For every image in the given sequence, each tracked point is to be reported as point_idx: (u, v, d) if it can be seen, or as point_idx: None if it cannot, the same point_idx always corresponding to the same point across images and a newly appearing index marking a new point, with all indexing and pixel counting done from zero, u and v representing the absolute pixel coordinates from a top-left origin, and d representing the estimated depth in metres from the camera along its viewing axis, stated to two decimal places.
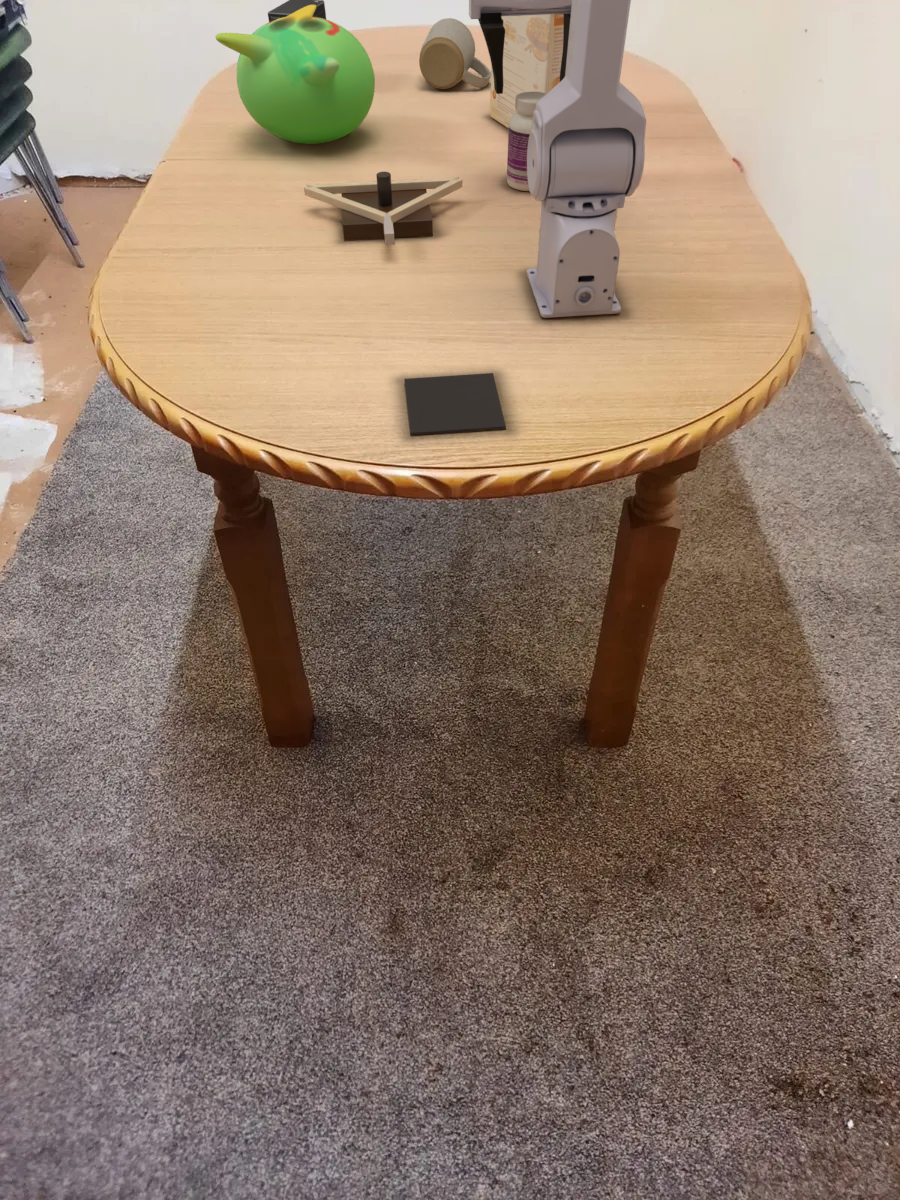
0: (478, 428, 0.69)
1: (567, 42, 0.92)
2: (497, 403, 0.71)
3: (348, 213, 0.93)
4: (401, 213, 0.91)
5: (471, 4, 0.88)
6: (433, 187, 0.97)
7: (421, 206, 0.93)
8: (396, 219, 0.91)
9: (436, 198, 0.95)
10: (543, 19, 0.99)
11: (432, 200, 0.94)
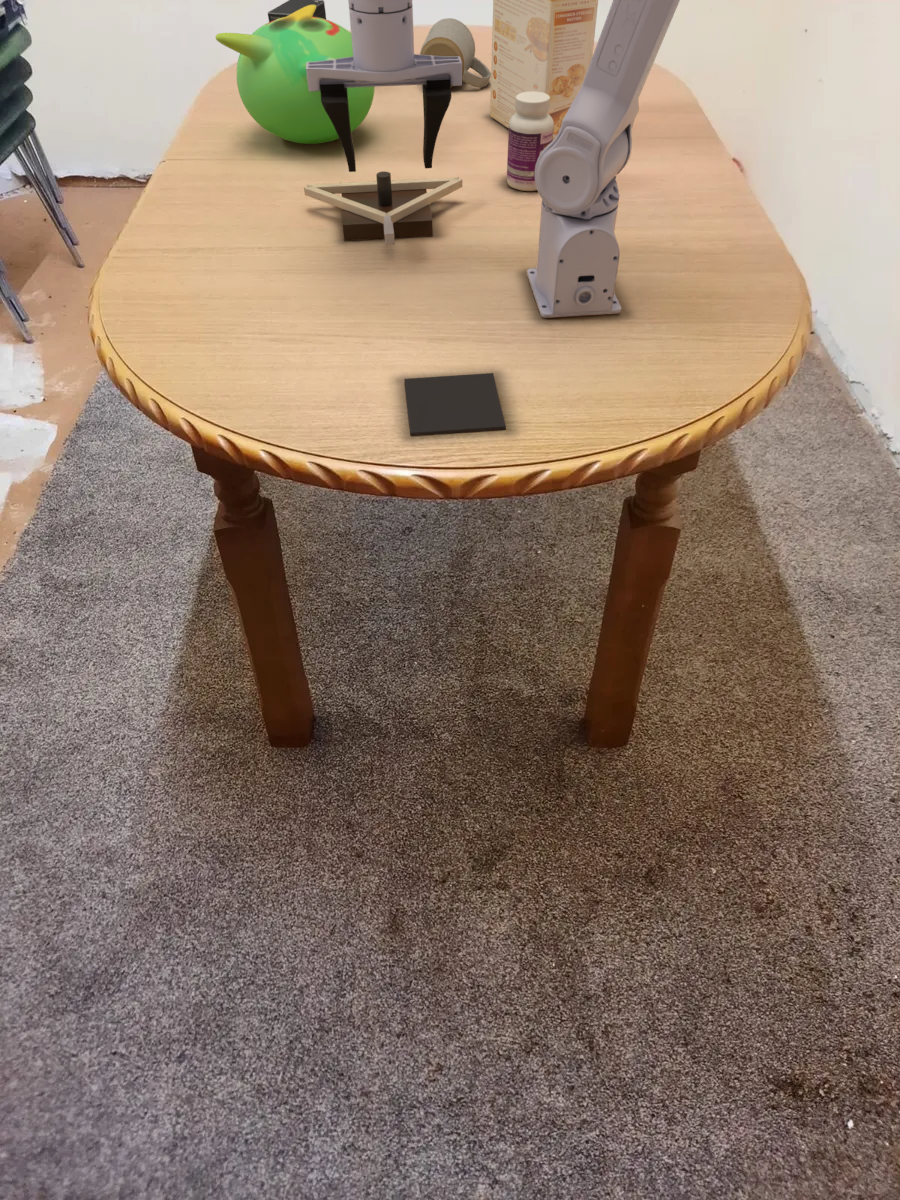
0: (478, 428, 0.69)
1: (425, 116, 0.80)
2: (497, 403, 0.71)
3: (348, 213, 0.93)
4: (401, 213, 0.91)
5: (307, 75, 0.76)
6: (433, 187, 0.97)
7: (421, 206, 0.93)
8: (396, 219, 0.91)
9: (436, 198, 0.95)
10: (543, 19, 0.99)
11: (432, 200, 0.94)
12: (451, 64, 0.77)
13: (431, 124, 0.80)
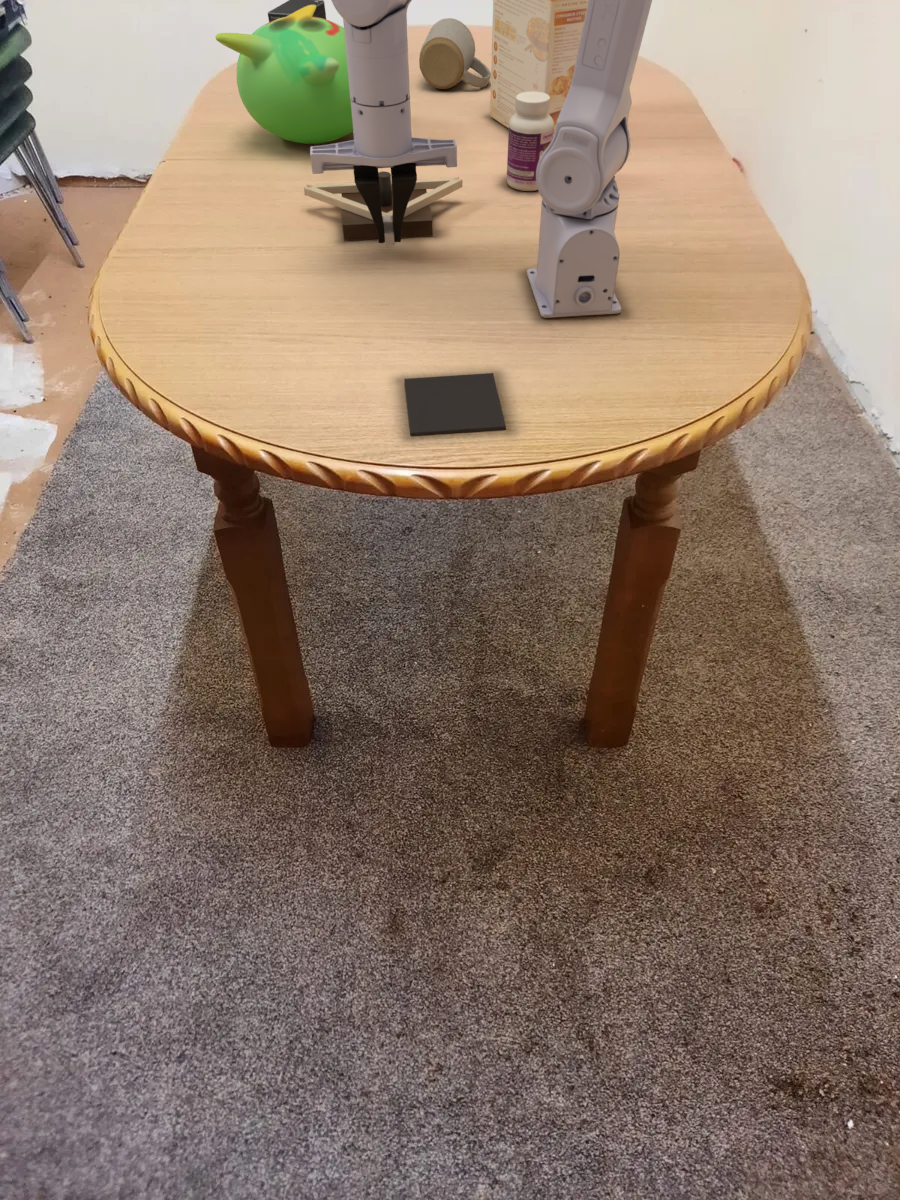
0: (478, 428, 0.69)
1: None
2: (497, 403, 0.71)
3: (348, 213, 0.93)
4: None
5: (311, 159, 0.81)
6: (433, 187, 0.97)
7: (421, 206, 0.93)
8: None
9: (436, 198, 0.95)
10: (543, 19, 0.99)
11: (432, 200, 0.94)
12: (446, 148, 0.81)
13: (398, 203, 0.84)
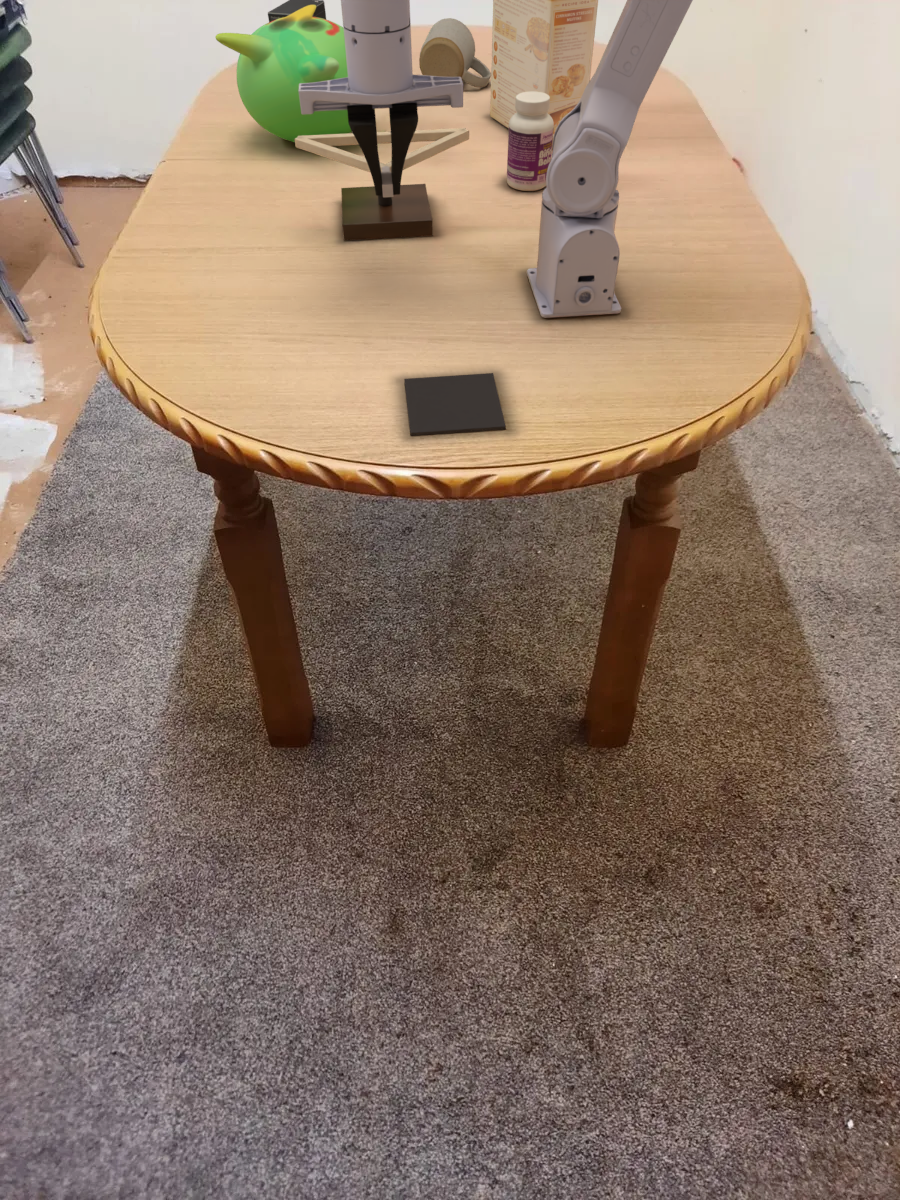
0: (478, 428, 0.69)
1: None
2: (497, 403, 0.71)
3: (348, 213, 0.93)
4: None
5: (300, 97, 0.72)
6: (437, 139, 0.88)
7: (423, 158, 0.85)
8: None
9: (440, 150, 0.86)
10: (543, 19, 0.99)
11: (435, 152, 0.86)
12: (451, 85, 0.73)
13: (398, 149, 0.75)
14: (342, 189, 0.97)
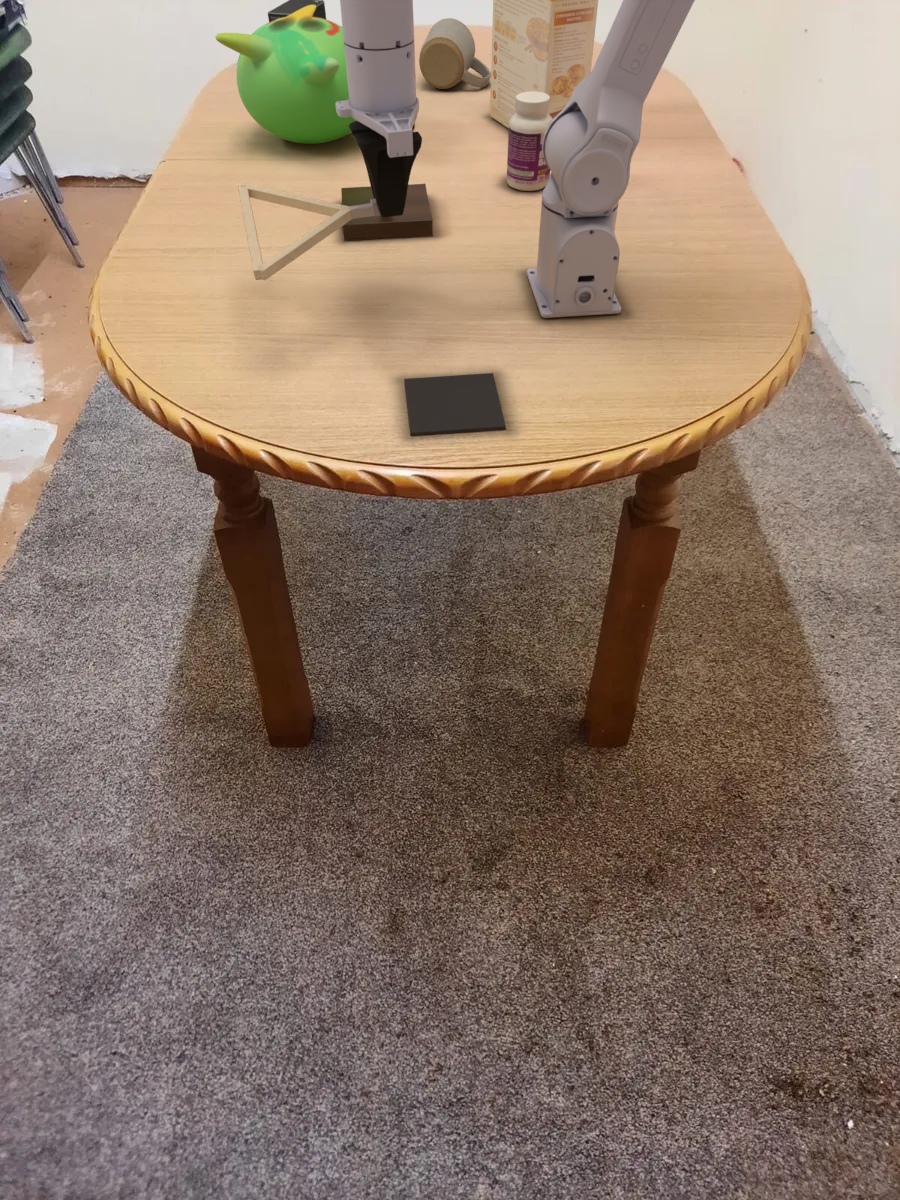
0: (478, 428, 0.69)
1: None
2: (497, 403, 0.71)
3: None
4: None
5: (411, 137, 0.66)
6: None
7: None
8: None
9: None
10: (543, 19, 0.99)
11: None
12: None
13: None
14: (342, 189, 0.97)
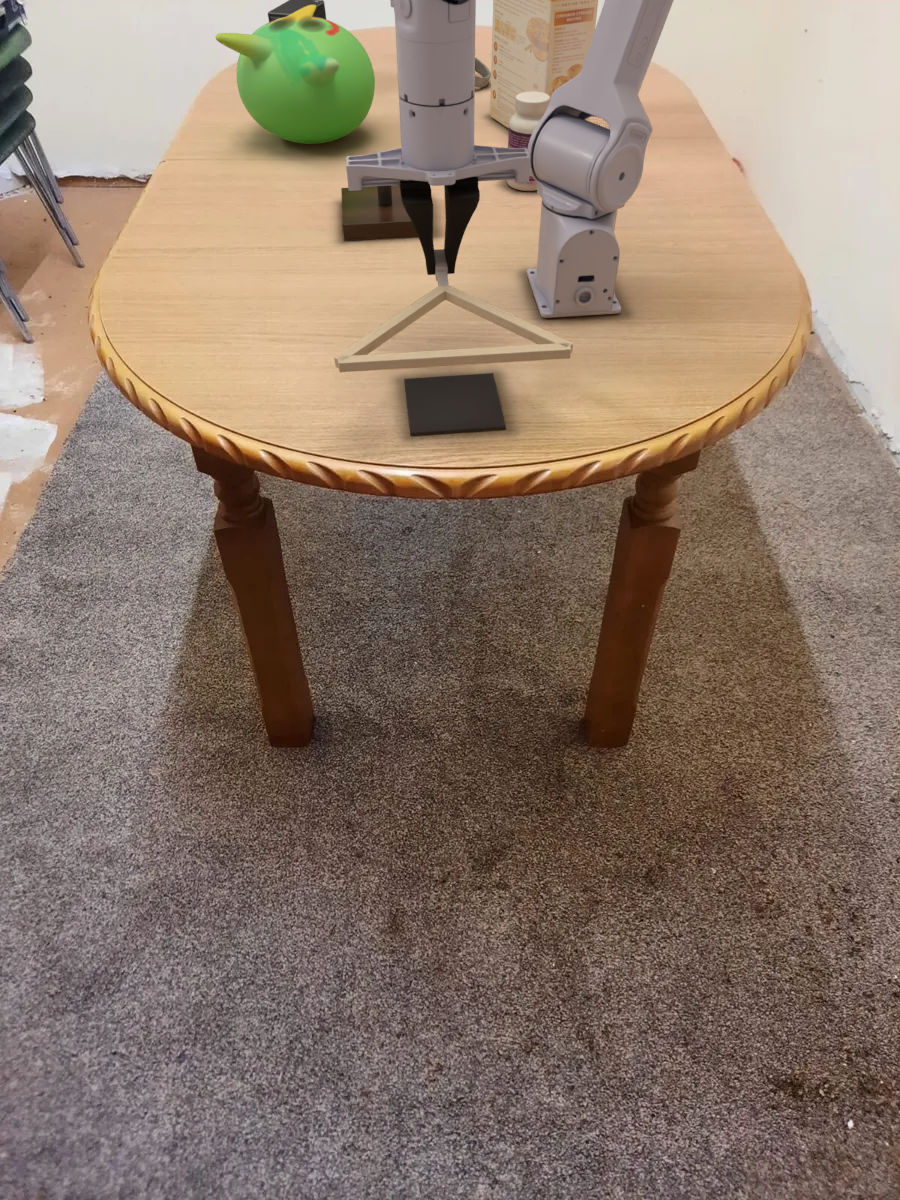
0: (478, 428, 0.69)
1: None
2: (497, 403, 0.71)
3: (348, 213, 0.93)
4: None
5: None
6: None
7: None
8: None
9: None
10: (543, 19, 0.99)
11: None
12: None
13: None
14: (342, 189, 0.97)
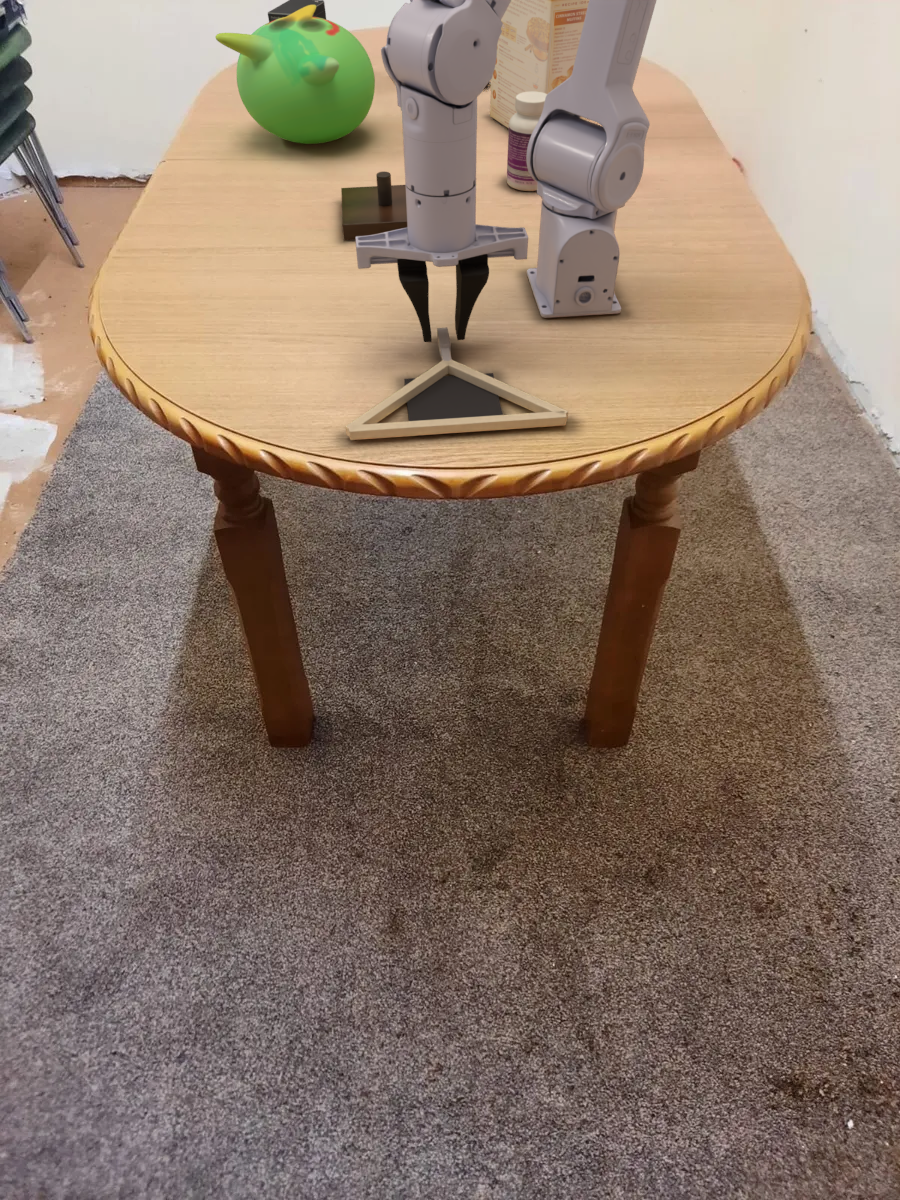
0: None
1: None
2: (497, 403, 0.71)
3: (348, 213, 0.93)
4: None
5: None
6: None
7: None
8: None
9: None
10: (543, 19, 0.99)
11: None
12: (367, 236, 0.70)
13: None
14: (342, 189, 0.97)
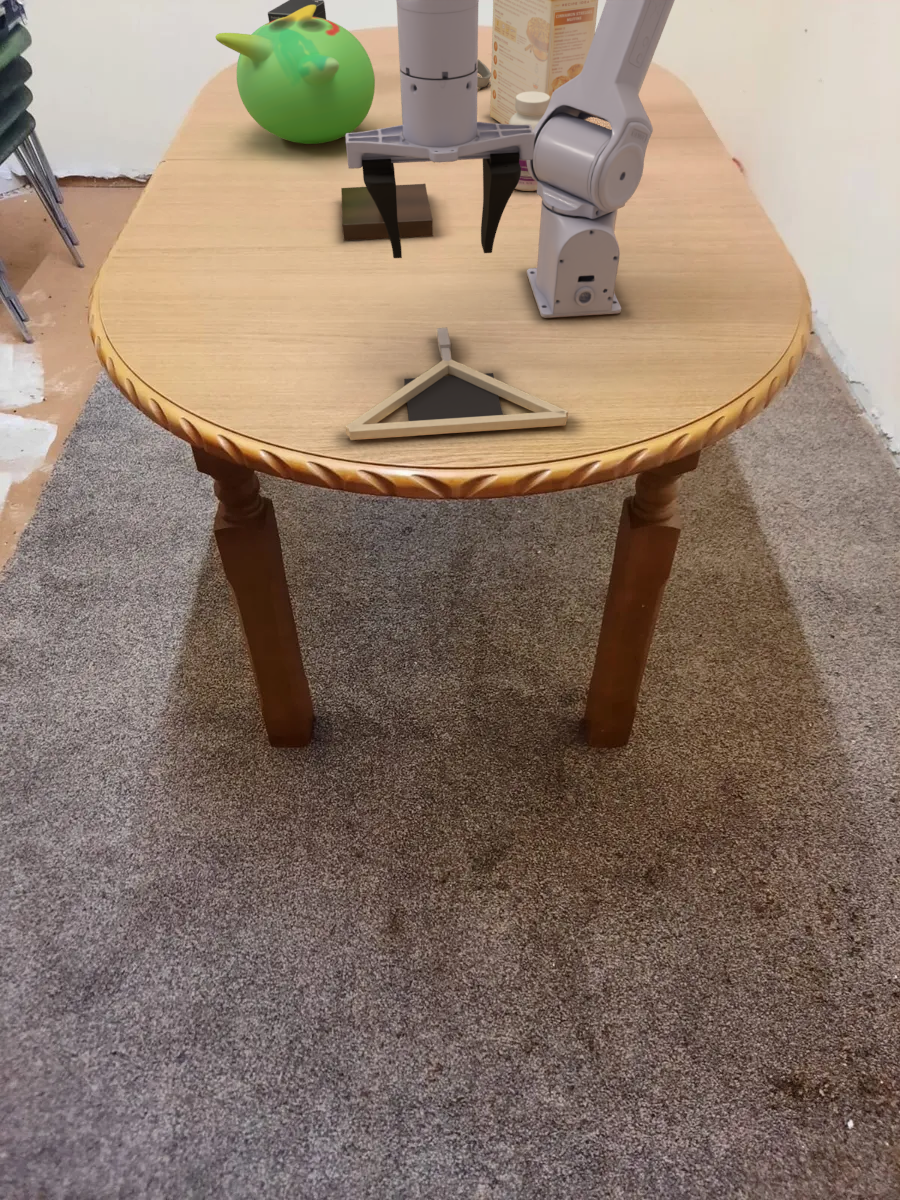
0: None
1: None
2: (497, 403, 0.71)
3: (348, 213, 0.93)
4: None
5: None
6: None
7: None
8: None
9: None
10: (543, 19, 0.99)
11: None
12: None
13: None
14: (342, 189, 0.97)
